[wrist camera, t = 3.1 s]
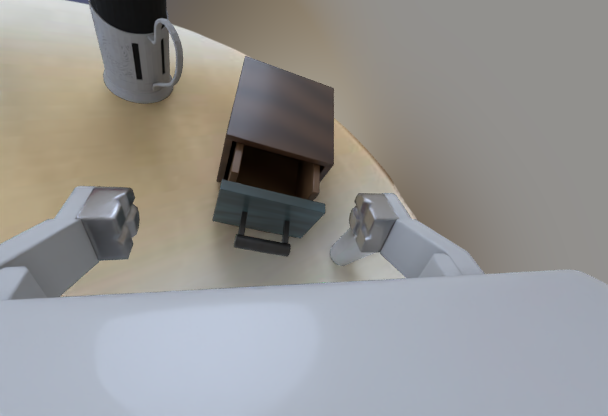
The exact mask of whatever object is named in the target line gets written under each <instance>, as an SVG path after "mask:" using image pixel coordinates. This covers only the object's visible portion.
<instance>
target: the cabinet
mask: <svg viewBox="0 0 608 416" xmlns="http://www.w3.org/2000/svg"><path fill="white" fill-rule="evenodd" d="M236 142H239V143H242V144H246V145H249V146H253V147H257V148H260V149H264V150H267V151H271V152H274V153H278V154H282V155H285V156H289V157H292V158H296V159H300V160H303V161H307V162H310V163H314V164H317V165H320V182H321V180H322V179H323V178H324V177H325V175H326V174H327V173H328V171H329V170H330V169H331V168H332V166H333V165H334V89H333V88H332V87H329V86H326V85H323V84H321V83H318V82H315V81H313V80H310V79H307V78H305V77H302V76H299V75H296V74H294V73H291V72H288V71H285V70H283V69H280V68H277V67H274V66H272V65H269V64H266V63H264V62H261V61H258V60H255V59H253V58H250V57H247V56H245V59H244V63H243V67H242V71H241V75H240V79H239V84H238V88H237V92H236V96H235V100H234V104H233V108H232V112H231V117H230V121H229V125H228V129H227V133H226V138H225V143H224V148H223V152H222V157H221V162H220V167H219V172H218V176H217V181H218V182H221V181H222V180H228V175H229V170H230V166H231V161H232V156H233V152H234V147H235V143H236ZM320 182H319V183H320Z"/></svg>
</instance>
